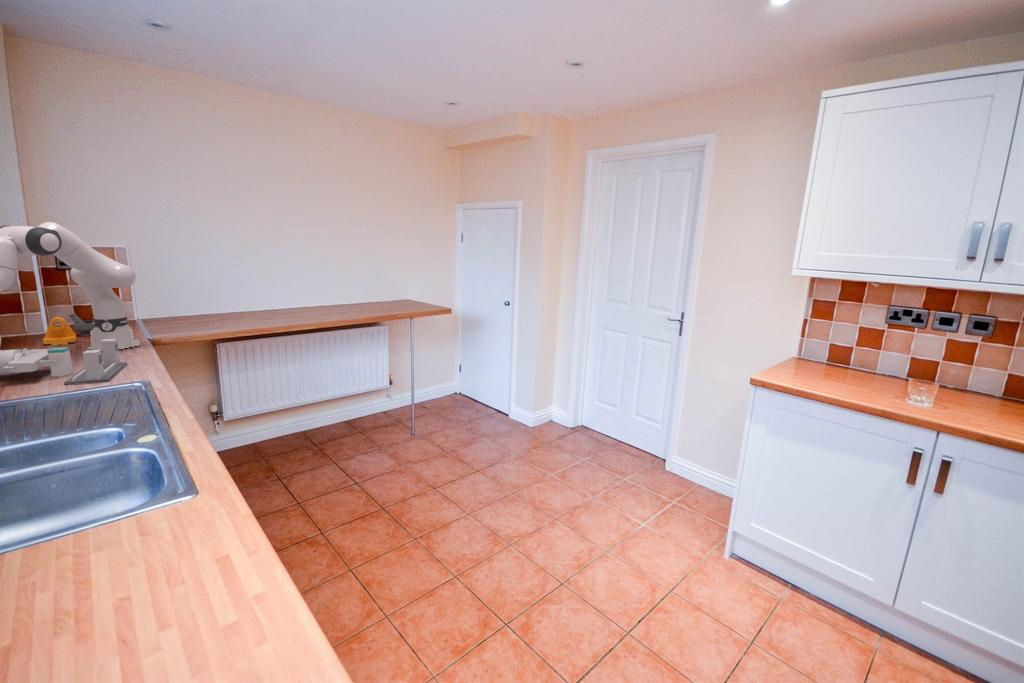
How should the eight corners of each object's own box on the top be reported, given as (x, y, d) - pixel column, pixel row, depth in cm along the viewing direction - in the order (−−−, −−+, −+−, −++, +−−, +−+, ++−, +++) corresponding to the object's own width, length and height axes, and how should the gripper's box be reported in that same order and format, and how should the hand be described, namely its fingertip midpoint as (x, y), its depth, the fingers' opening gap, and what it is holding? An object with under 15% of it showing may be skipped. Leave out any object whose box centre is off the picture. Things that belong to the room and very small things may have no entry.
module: (57, 373, 174) (52, 347, 172) (73, 372, 176) (68, 346, 174) (52, 376, 170) (47, 350, 168) (68, 375, 172) (64, 349, 170)
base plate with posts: (88, 367, 183) (84, 339, 181) (127, 364, 189) (123, 338, 186) (64, 385, 162) (59, 354, 159) (108, 381, 167) (104, 352, 165)
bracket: (43, 346, 212) (38, 320, 210) (45, 342, 218) (41, 317, 215) (75, 343, 219) (71, 318, 216) (76, 340, 224) (73, 316, 222)
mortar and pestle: (101, 332, 242) (98, 310, 240) (101, 336, 235) (98, 312, 233) (71, 335, 235) (68, 311, 232) (71, 338, 228) (67, 314, 225)
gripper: (-5, 360, 156) (50, 357, 162) (23, 347, 174) (71, 344, 180) (-2, 378, 157) (53, 374, 164) (26, 363, 175) (74, 360, 181)
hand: (63, 358), depth 172 cm, fingers open, 8 cm apart
